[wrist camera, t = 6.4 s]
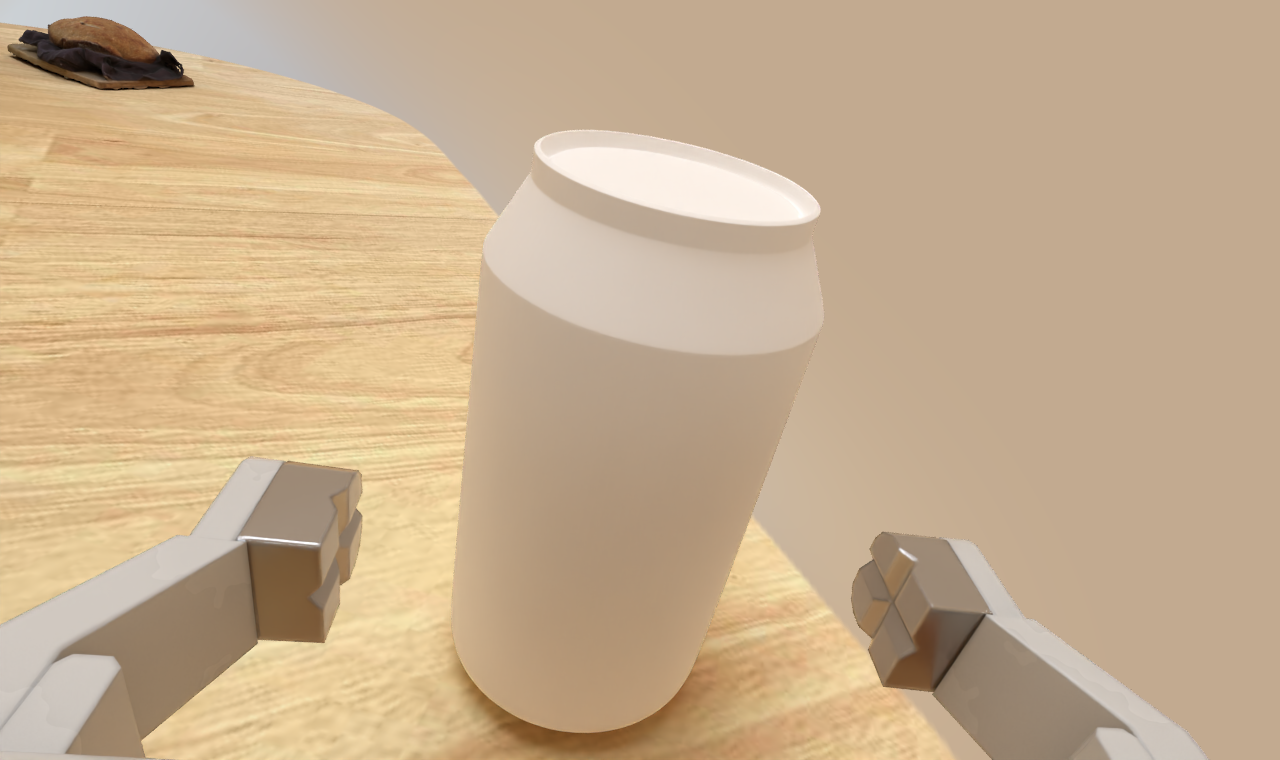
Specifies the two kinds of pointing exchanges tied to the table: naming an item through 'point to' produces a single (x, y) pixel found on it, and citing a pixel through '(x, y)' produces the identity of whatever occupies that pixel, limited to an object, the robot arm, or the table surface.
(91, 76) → the bread roll
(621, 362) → the beverage can
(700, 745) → the table surface
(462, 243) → the table surface
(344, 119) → the table surface
